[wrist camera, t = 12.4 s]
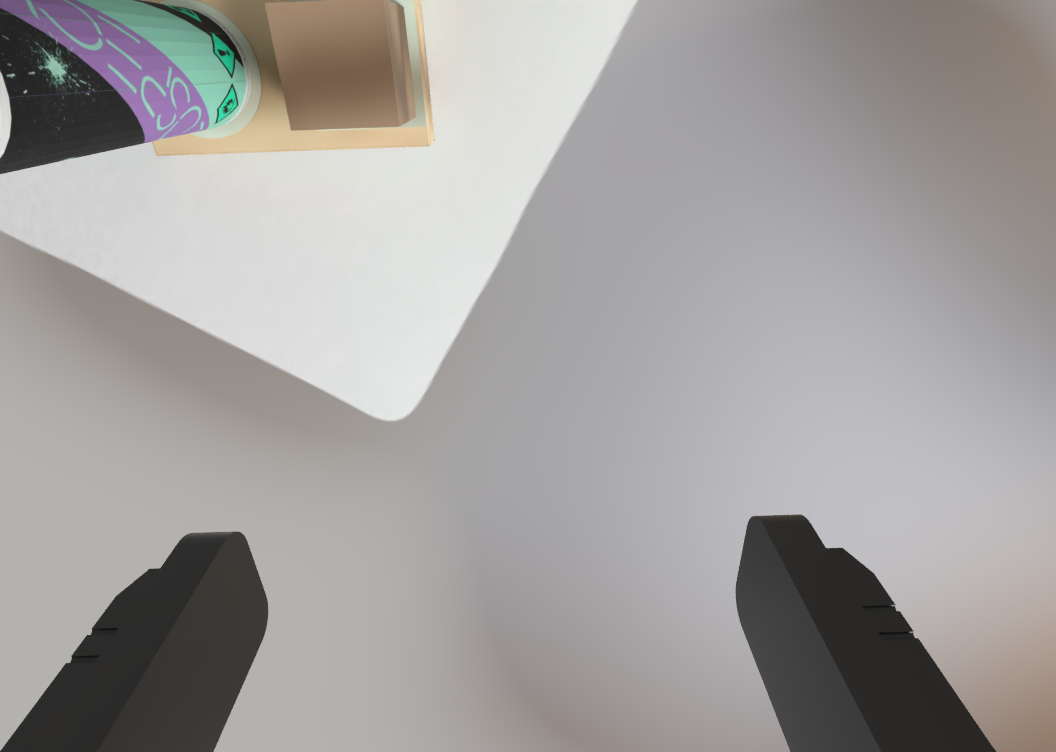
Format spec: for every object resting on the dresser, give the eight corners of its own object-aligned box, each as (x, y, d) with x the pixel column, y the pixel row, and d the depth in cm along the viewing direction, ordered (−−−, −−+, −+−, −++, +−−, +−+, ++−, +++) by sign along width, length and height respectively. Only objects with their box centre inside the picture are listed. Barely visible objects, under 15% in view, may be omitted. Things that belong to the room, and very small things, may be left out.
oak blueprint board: (131, -13, 31) (100, -19, 29) (418, -24, 31) (410, -30, 29) (179, 149, 35) (155, 156, 32) (434, 140, 35) (428, 146, 32)
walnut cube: (302, 10, 29) (264, 2, 25) (403, 6, 29) (383, -2, 25) (322, 120, 32) (290, 130, 27) (416, 116, 32) (399, 126, 27)
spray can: (215, 150, 32) (-156, 257, 15) (121, 70, 30) (-435, 81, 13) (272, 70, 30) (-72, 82, 13) (176, -20, 29) (-382, -152, 11)
